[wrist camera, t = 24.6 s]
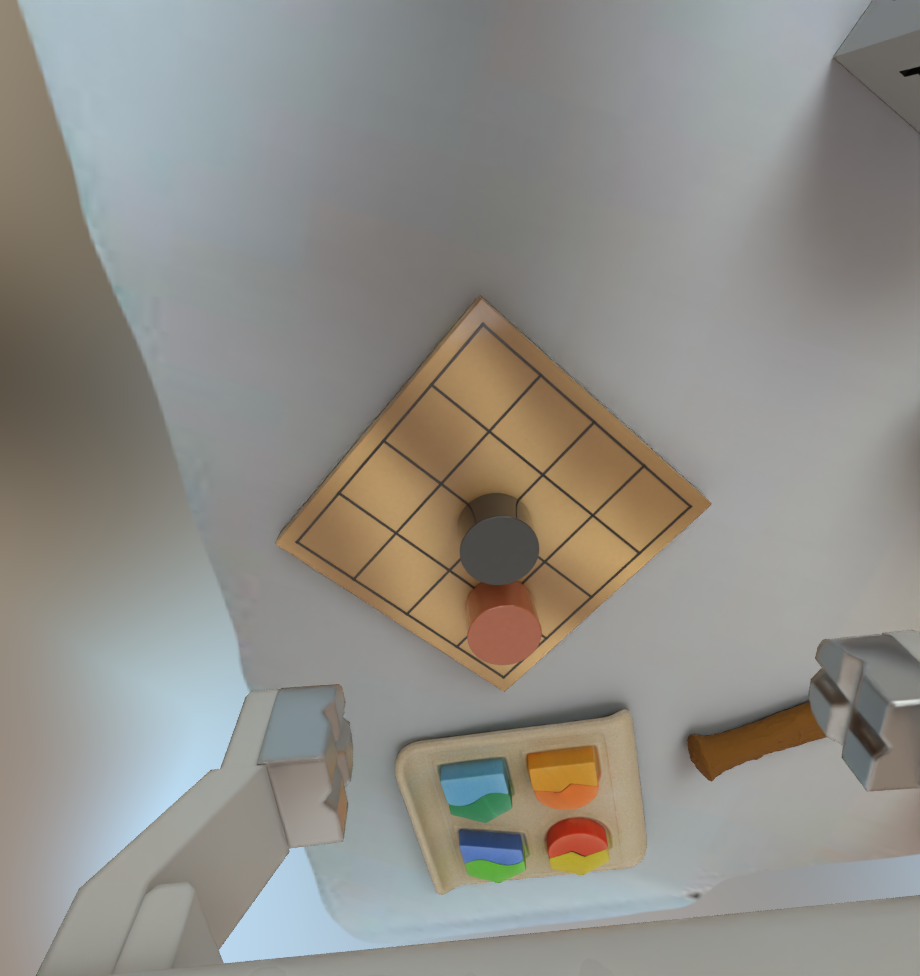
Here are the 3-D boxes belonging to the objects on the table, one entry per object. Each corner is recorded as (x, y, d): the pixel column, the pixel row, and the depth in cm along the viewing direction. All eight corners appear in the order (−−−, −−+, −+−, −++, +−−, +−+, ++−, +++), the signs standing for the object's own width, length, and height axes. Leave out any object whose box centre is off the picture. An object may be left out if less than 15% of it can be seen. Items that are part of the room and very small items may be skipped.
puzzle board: (391, 743, 51) (388, 779, 47) (628, 697, 50) (642, 731, 47) (438, 881, 58) (439, 920, 55) (646, 843, 57) (658, 881, 54)
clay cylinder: (462, 580, 43) (464, 609, 40) (533, 574, 43) (541, 602, 40) (466, 638, 45) (470, 669, 42) (535, 631, 45) (542, 662, 42)
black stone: (491, 478, 40) (496, 501, 37) (546, 521, 41) (555, 546, 38) (441, 530, 41) (443, 556, 38) (496, 570, 43) (502, 598, 40)
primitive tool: (922, 654, 49) (956, 687, 46) (925, 704, 52) (957, 738, 49) (679, 726, 51) (695, 762, 48) (691, 771, 54) (708, 808, 51)
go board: (479, 295, 36) (481, 298, 35) (704, 496, 43) (712, 505, 41) (278, 534, 42) (274, 544, 41) (502, 680, 48) (504, 692, 47)
